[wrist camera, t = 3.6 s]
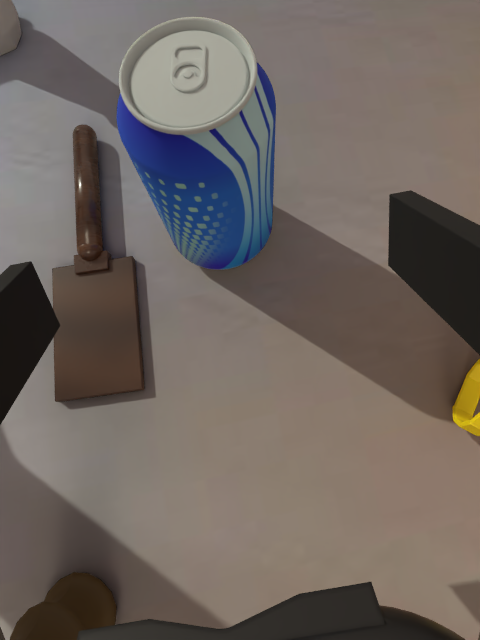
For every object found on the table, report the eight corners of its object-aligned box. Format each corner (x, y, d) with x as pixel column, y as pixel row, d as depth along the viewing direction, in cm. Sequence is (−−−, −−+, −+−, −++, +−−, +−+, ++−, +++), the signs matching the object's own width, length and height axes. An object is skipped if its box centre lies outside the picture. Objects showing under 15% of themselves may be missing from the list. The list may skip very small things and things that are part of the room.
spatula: (53, 140, 38) (41, 125, 36) (125, 129, 38) (117, 113, 36) (59, 402, 32) (45, 400, 30) (145, 389, 32) (137, 387, 30)
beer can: (292, 220, 34) (313, 54, 19) (228, 295, 33) (195, 182, 18) (216, 167, 36) (179, -25, 21) (153, 236, 35) (62, 87, 19)
